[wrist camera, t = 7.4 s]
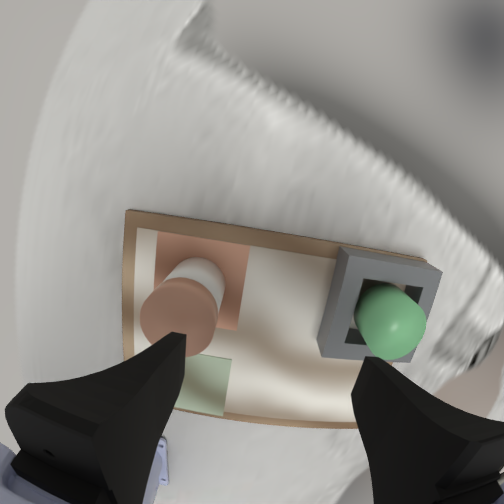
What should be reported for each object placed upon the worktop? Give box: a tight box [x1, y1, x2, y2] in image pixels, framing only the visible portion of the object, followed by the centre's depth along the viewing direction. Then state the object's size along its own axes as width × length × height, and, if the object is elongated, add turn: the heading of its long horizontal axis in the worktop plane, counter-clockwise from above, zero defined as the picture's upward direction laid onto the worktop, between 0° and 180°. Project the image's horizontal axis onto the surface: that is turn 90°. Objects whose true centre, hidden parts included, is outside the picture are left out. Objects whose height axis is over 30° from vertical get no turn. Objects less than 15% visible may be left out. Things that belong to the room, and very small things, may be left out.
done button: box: [354, 283, 426, 360], centre depth 17 cm, size 4×4×3 cm
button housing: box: [316, 246, 443, 363], centre depth 19 cm, size 7×7×2 cm
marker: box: [140, 257, 225, 357], centre depth 17 cm, size 4×4×6 cm
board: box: [122, 209, 427, 429], centre depth 21 cm, size 16×21×1 cm
